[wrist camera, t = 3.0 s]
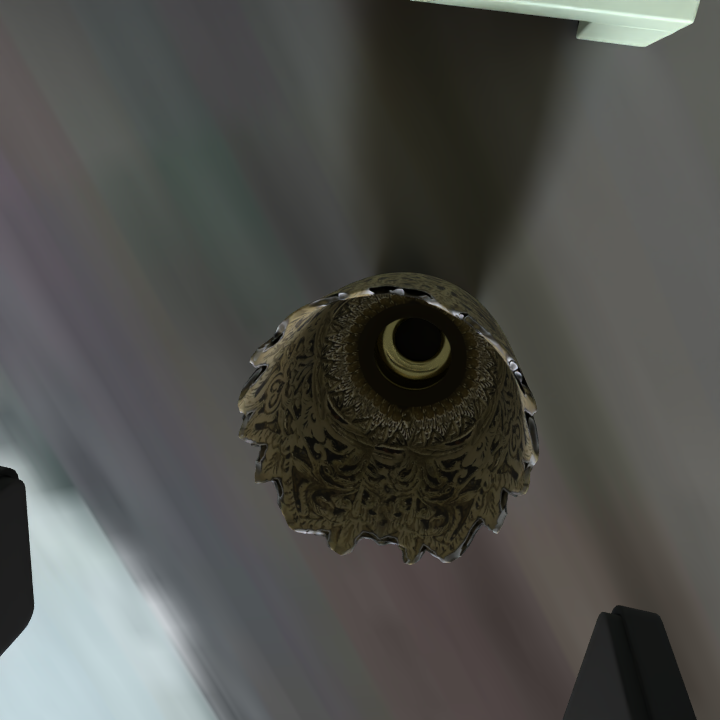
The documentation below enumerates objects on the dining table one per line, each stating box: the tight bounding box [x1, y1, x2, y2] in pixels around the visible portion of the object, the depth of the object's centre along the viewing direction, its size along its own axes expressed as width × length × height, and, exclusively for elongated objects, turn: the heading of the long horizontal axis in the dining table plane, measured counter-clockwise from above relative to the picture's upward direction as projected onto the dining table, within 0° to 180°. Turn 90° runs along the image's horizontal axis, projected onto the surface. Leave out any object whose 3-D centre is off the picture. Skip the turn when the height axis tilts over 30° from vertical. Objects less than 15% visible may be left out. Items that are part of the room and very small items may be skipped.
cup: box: [238, 272, 539, 565], centre depth 19 cm, size 8×7×8 cm
